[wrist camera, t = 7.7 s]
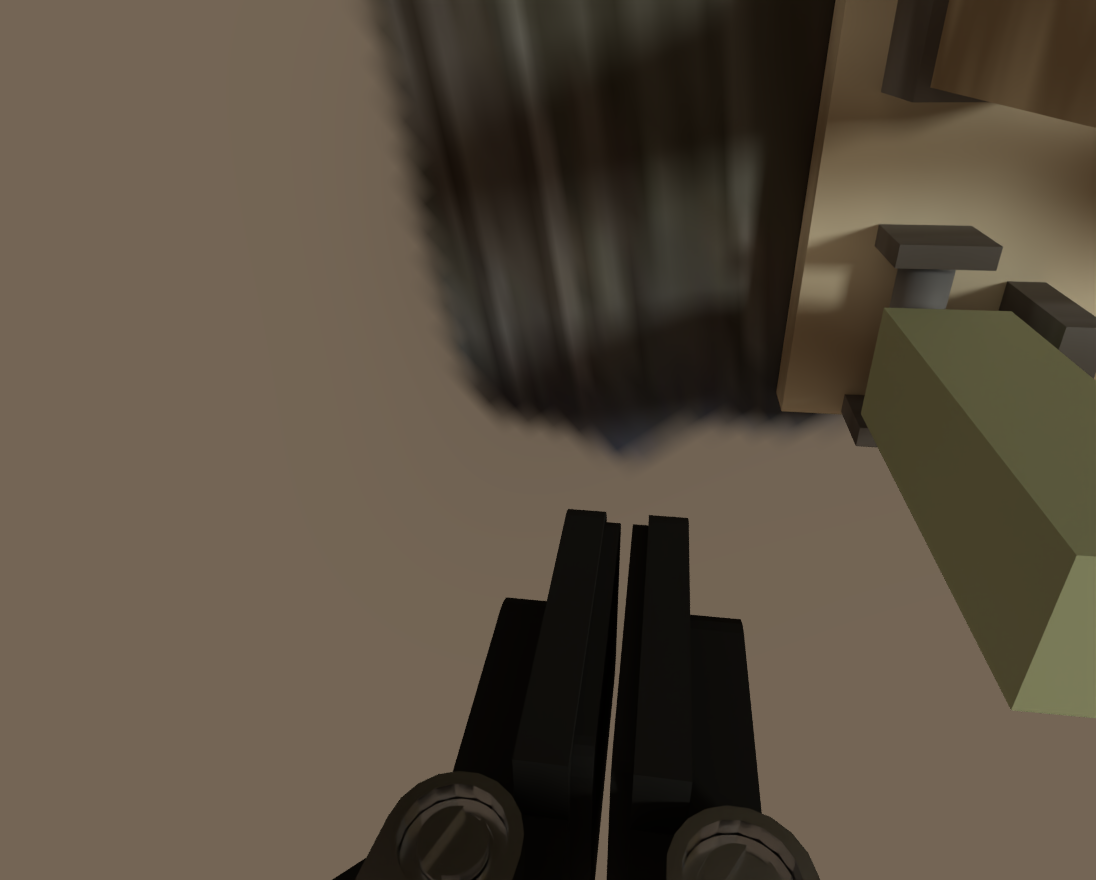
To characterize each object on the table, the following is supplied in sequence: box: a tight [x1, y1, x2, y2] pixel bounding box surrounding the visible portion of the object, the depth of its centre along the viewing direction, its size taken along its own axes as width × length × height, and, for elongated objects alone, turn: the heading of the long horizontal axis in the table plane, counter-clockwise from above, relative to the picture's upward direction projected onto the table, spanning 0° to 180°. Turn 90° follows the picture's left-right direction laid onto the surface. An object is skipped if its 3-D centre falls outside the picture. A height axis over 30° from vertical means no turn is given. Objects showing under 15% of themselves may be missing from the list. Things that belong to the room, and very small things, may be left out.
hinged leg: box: [861, 268, 1096, 718], centre depth 16 cm, size 4×3×13 cm
